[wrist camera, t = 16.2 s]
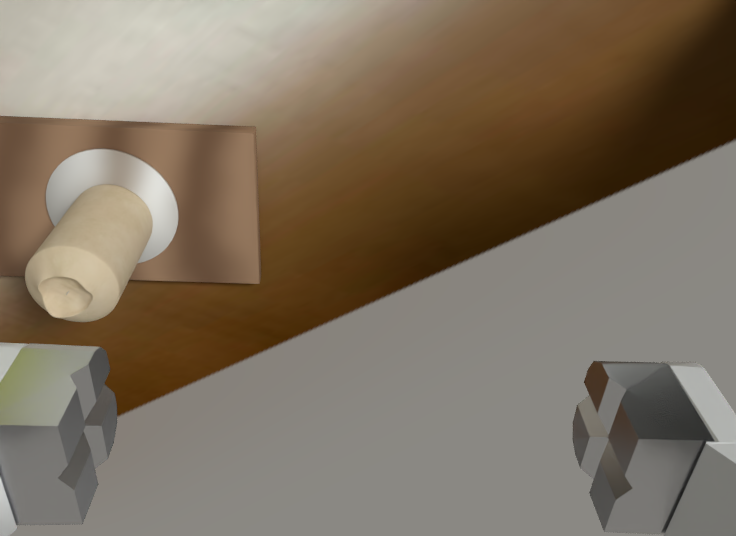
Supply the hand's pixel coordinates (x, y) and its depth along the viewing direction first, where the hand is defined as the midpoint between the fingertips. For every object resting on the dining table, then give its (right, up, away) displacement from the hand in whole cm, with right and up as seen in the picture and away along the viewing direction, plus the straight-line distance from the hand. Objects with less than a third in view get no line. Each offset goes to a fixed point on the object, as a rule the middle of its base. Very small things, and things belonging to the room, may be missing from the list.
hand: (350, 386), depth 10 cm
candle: (-18, +5, +39) cm, 43 cm away
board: (-18, +7, +39) cm, 44 cm away
